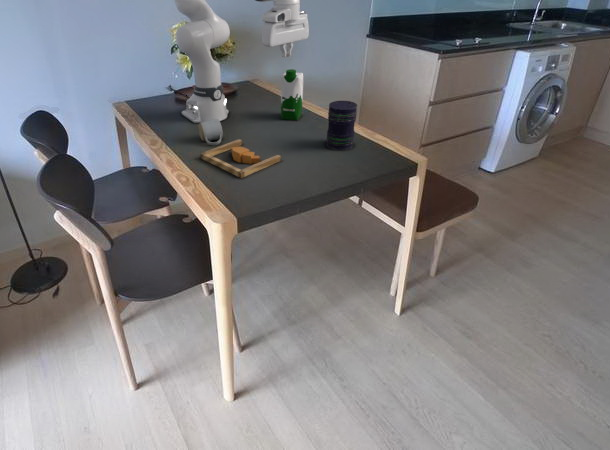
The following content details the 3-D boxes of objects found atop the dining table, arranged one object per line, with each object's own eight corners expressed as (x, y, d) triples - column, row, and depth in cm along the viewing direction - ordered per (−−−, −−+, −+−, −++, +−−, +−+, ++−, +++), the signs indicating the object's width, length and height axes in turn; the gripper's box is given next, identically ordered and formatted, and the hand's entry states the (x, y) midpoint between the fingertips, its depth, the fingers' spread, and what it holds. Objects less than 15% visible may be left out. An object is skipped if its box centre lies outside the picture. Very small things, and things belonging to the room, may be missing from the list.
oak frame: (201, 158, 147) (200, 153, 146) (239, 144, 157) (239, 138, 156) (241, 178, 133) (240, 172, 132) (280, 161, 143) (280, 155, 142)
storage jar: (336, 152, 148) (340, 111, 139) (320, 143, 155) (323, 103, 147) (359, 146, 151) (363, 106, 143) (342, 137, 158) (345, 98, 150)
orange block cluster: (224, 155, 148) (223, 146, 146) (236, 150, 152) (236, 141, 150) (250, 167, 140) (249, 157, 138) (262, 162, 143) (262, 152, 141)
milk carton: (279, 119, 178) (278, 71, 166) (284, 113, 185) (284, 66, 173) (298, 121, 175) (300, 72, 164) (303, 114, 182) (305, 67, 171)
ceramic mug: (198, 137, 163) (196, 119, 159) (218, 134, 165) (216, 115, 161) (205, 148, 155) (203, 128, 151) (226, 144, 157) (225, 125, 153)
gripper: (300, 9, 147) (299, 50, 155) (258, 16, 136) (259, 60, 144) (314, 10, 143) (312, 52, 151) (271, 17, 132) (272, 62, 140)
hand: (286, 56), depth 147 cm, fingers closed
